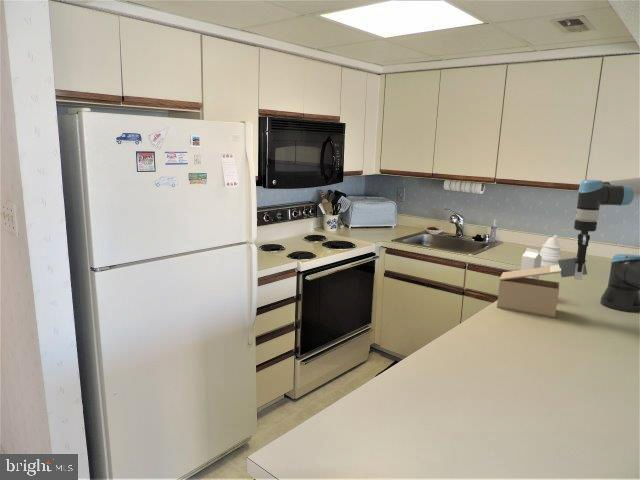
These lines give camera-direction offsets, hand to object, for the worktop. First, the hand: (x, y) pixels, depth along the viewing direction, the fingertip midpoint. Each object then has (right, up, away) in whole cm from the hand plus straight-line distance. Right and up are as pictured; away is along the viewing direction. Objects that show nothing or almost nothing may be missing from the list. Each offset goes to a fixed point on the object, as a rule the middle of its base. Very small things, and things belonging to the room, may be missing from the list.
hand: (577, 278), depth 179 cm
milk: (-7, -11, +28) cm, 31 cm away
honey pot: (+32, 0, +85) cm, 91 cm away
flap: (-11, -1, +6) cm, 12 cm away
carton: (-15, -14, +11) cm, 23 cm away
